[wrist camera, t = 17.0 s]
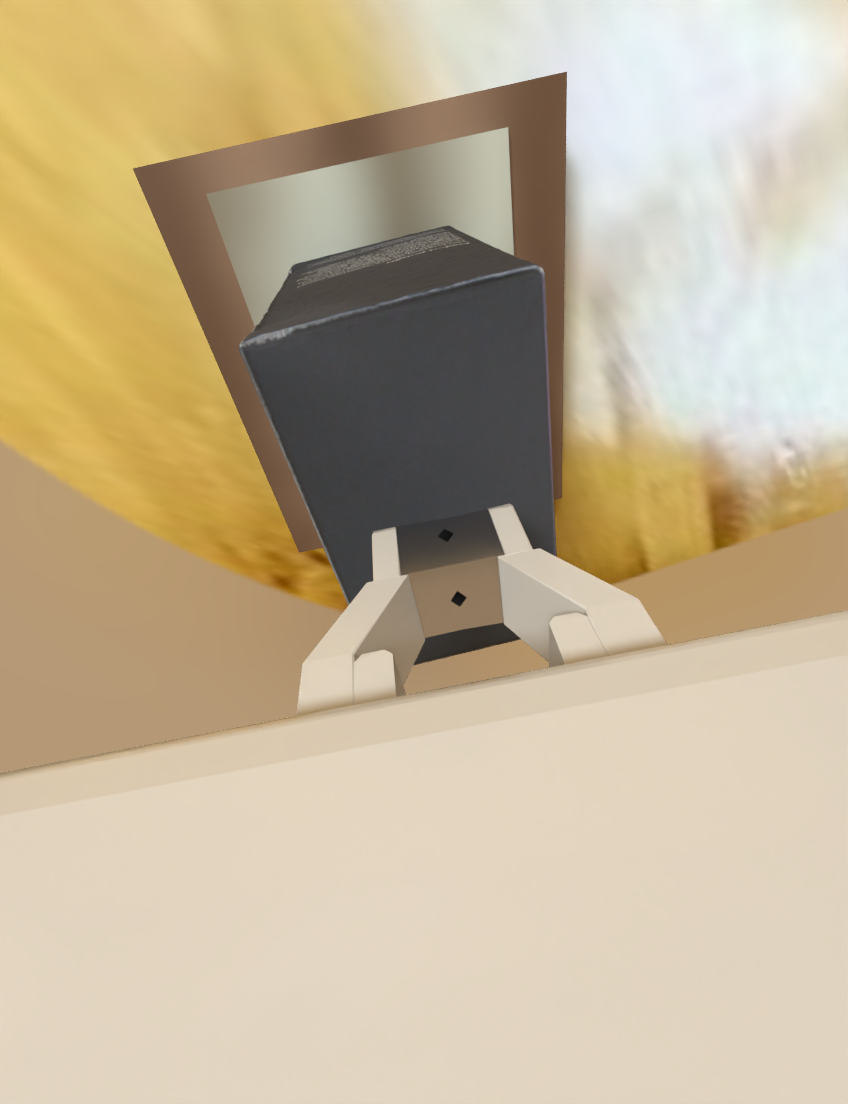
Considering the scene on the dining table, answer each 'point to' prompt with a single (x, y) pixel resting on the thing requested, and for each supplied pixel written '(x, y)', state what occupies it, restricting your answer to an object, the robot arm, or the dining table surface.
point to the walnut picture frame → (364, 221)
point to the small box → (410, 396)
